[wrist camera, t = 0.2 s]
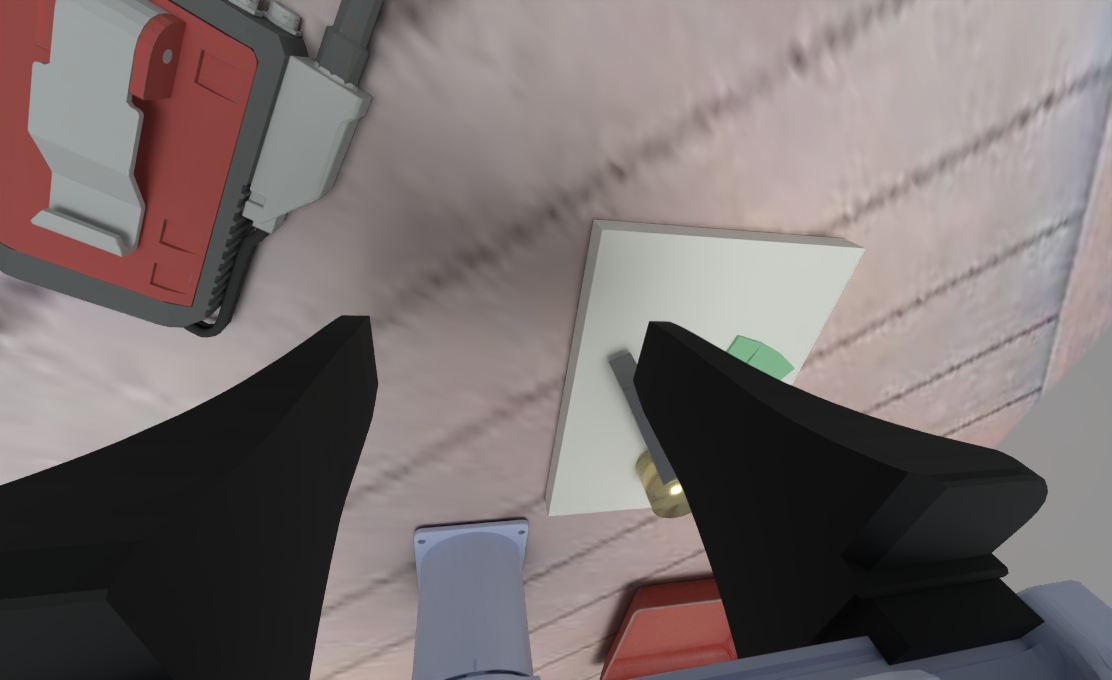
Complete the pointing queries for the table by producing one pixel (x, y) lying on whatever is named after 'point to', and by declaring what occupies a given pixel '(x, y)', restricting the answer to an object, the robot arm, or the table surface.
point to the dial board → (693, 303)
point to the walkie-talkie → (166, 143)
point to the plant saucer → (670, 631)
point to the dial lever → (650, 450)
